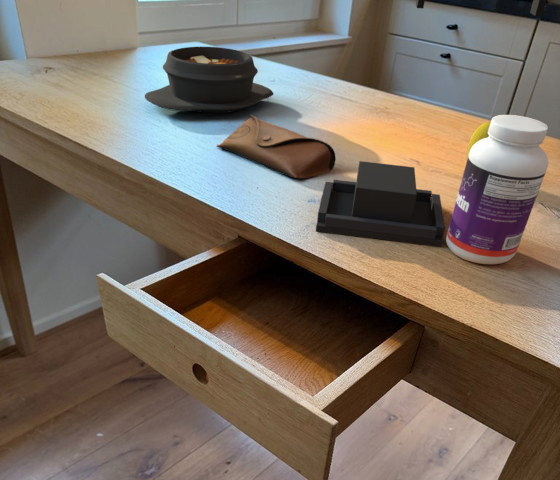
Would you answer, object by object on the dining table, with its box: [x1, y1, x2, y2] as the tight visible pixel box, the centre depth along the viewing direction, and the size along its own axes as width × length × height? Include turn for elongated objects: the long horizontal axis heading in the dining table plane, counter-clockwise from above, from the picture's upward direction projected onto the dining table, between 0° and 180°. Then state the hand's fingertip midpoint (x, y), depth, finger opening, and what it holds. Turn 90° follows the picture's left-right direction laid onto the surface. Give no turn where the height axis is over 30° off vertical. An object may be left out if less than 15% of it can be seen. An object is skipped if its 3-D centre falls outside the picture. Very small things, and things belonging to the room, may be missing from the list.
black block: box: [352, 160, 417, 224], centre depth 70 cm, size 7×9×4 cm
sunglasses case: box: [216, 114, 337, 180], centre depth 85 cm, size 18×7×7 cm
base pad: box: [315, 179, 446, 247], centre depth 71 cm, size 15×12×2 cm
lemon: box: [466, 120, 491, 159], centre depth 83 cm, size 6×6×8 cm
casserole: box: [144, 46, 274, 114], centre depth 102 cm, size 25×19×8 cm
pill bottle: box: [445, 114, 549, 265], centre depth 61 cm, size 8×8×14 cm
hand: (477, 11), depth 67 cm, fingers open, 13 cm apart
